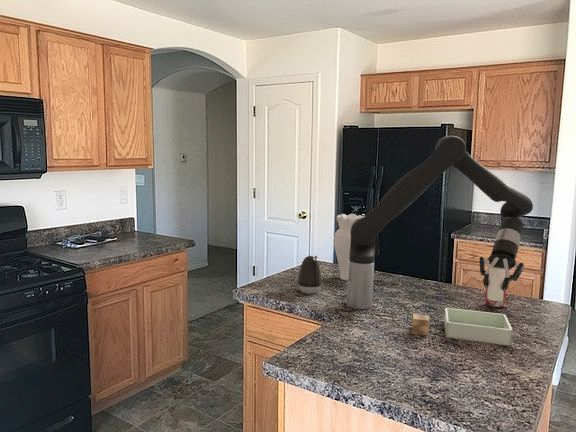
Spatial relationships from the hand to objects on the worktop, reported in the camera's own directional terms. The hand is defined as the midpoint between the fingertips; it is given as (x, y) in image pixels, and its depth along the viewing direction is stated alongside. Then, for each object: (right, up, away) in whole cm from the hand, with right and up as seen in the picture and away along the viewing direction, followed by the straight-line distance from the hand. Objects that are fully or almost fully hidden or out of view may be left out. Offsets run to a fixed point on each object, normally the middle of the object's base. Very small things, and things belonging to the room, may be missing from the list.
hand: (494, 287), depth 153 cm
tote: (-4, -15, +4) cm, 17 cm away
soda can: (+15, -12, +34) cm, 39 cm away
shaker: (+1, -4, +2) cm, 5 cm away
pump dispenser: (-57, -9, +44) cm, 73 cm away
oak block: (-23, -15, +4) cm, 28 cm away
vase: (-38, -6, +66) cm, 77 cm away
